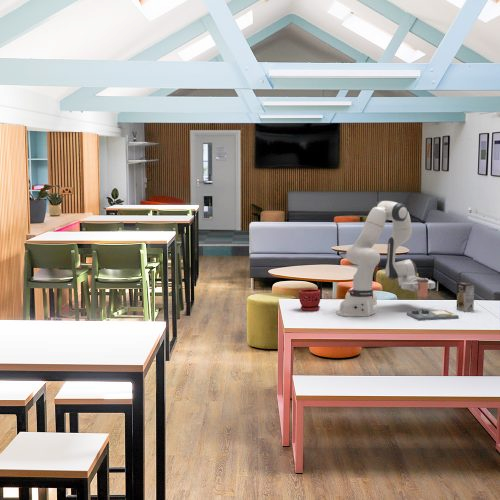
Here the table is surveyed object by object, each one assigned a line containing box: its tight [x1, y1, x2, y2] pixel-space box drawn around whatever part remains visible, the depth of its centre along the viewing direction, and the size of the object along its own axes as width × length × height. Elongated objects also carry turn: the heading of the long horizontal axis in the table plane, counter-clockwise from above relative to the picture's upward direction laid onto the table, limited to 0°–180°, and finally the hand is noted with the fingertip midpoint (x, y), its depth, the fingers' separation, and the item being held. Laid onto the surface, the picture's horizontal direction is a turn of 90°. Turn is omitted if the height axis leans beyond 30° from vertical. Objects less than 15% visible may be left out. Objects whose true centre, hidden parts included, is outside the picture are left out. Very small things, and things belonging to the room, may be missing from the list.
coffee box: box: [456, 281, 475, 313], centre depth 460 cm, size 9×6×16 cm
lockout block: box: [416, 278, 429, 298], centre depth 454 cm, size 5×5×10 cm
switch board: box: [406, 309, 460, 322], centre depth 442 cm, size 24×17×3 cm
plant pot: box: [298, 288, 322, 312], centre depth 466 cm, size 13×13×12 cm
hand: (423, 287), depth 453 cm, fingers closed on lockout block, 4 cm apart
